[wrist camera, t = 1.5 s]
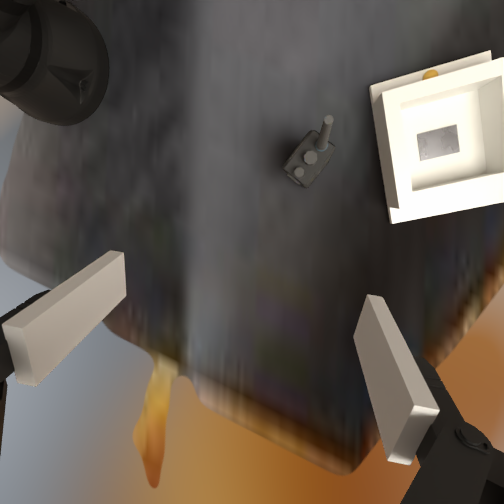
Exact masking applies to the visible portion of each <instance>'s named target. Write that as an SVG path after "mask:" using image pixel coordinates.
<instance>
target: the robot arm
mask: <svg viewBox="0 0 504 504" xmlns="http://www.w3.org/2000/svg"><path fill="white" fill-rule="evenodd" d="M108 77H109V61H108V54H107V50H106V46H105V43H104V41H103V38H102V36H101V34H100V32H99V30H98V29H97V27H96V26H95V25H94V23H93V22H92V21H91V20H90V19H89V18H88V17H87V16H86V15H85V14H84V13H82V12H81V11H80V10H79V9H77V8H76V7H75V6H74V5H72V4H71V3H69V2H68V1H66V0H0V95H1V96H2V97H4V98H5V99H7V100H8V101H10V102H12V103H13V104H14V105H16V106H17V107H19V109H21V110H22V111H23V112H25V113H26V114H28V115H29V116H31V117H33V118H35V119H38V120H40V121H44V122H47V123H51V124H55V125H61V126H67V125H73V124H77V123H79V122H81V121H83V120H85V119H86V118H88V117H89V116H90V115H91V114H92V113H93V112H94V111H95V110H96V109H97V107H98V106H99V104H100V103H101V101H102V99H103V97H104V94H105V91H106V88H107V84H108ZM125 296H126V282H125V265H124V253H123V252H117V251H111V250H110V251H109V252H107V253H106V254H104V255H103V256H101V257H100V258H99V259H97V260H96V261H94V262H93V263H91V264H90V265H88V266H87V267H85V268H84V269H82V270H81V271H79V272H78V273H76V274H75V275H73V276H72V277H71V278H69V279H68V280H66V281H65V282H63V283H62V284H60V285H59V286H57V287H56V288H54V289H53V290H46V291H44V292H41V293H39V294H36V295H34V296H32V297H31V298H29V299H28V300H26V301H25V303H22V304H20V305H19V306H17V307H16V309H13V310H11V311H9V312H8V313H6V314H5V315H3V316H2V317H0V454H1V443H2V434H3V423H4V414H5V404H6V394H7V382H6V378H7V377H8V376H9V375H10V374H12V373H13V372H15V376H16V379H17V382H18V383H21V384H26V385H30V386H35V387H36V386H37V385H38V384H39V383H40V382H41V381H42V380H43V379H44V378H45V377H46V376H47V375H48V374H49V373H50V372H51V371H52V370H53V369H54V368H55V367H56V366H57V365H58V364H59V363H60V362H61V361H62V360H63V359H64V358H65V357H66V356H67V355H68V354H69V353H70V352H71V351H72V350H73V349H74V348H75V347H76V346H77V345H78V344H79V343H80V342H81V341H82V340H83V339H84V338H85V336H87V335H88V334H89V333H90V332H91V331H92V330H93V329H94V328H95V327H96V326H97V325H98V324H99V323H100V322H101V321H102V320H103V319H104V318H105V317H106V316H107V315H108V314H109V313H110V311H111V310H112V309H113V308H114V307H115V306H116V305H117V304H118V303H119V302H120V301H121V300H122V299H123V298H124V297H125ZM354 341H355V344H356V348H357V352H358V355H359V359H360V363H361V366H362V370H363V373H364V377H365V381H366V384H367V388H368V392H369V395H370V399H371V403H372V406H373V410H374V413H375V417H376V421H377V424H378V428H379V432H380V435H381V439H382V442H383V446H384V449H385V453H386V457H387V460H388V461H392V462H396V463H402V464H406V465H411V462H412V461H413V459H414V457H415V455H417V458H418V461H419V463H420V466H421V468H420V469H419V471H418V473H417V474H416V476H415V478H414V480H413V481H412V483H411V485H410V487H409V489H408V491H407V492H406V494H405V496H404V498H403V500H402V501H401V503H400V504H504V453H503V452H501V451H499V450H497V449H495V448H493V446H492V445H491V442H490V441H489V440H488V439H487V437H486V436H485V435H484V434H483V433H482V432H481V431H479V430H478V429H477V428H476V427H474V426H472V425H471V424H469V423H467V422H465V421H464V419H463V417H462V416H461V414H460V412H459V410H458V409H457V407H456V405H455V403H454V402H453V400H452V398H451V396H450V395H449V393H448V391H447V390H446V388H445V386H444V384H443V382H442V381H441V379H440V377H439V376H438V374H437V372H436V370H435V368H434V367H433V366H432V365H431V364H429V363H428V362H427V361H426V360H425V359H424V358H420V357H415V356H412V354H411V352H410V350H409V348H408V346H407V344H406V342H405V340H404V339H403V337H402V335H401V333H400V331H399V329H398V327H397V325H396V323H395V321H394V319H393V317H392V315H391V313H390V311H389V309H388V307H387V305H386V303H385V301H384V299H383V297H379V296H374V295H368V294H367V297H366V300H365V303H364V306H363V309H362V312H361V315H360V318H359V321H358V324H357V327H356V331H355V334H354Z"/></svg>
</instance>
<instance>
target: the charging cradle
mask: <svg viewBox="0 0 504 504" xmlns="http://www.w3.org/2000/svg"><path fill="white" fill-rule="evenodd" d="M369 92H370V98H371V105H372V111H373V118H374V124H375V130H376V137H377V143H378V149H379V156H380V162H381V169H382V175H383V181H384V188H385V194H386V201H387V207H388V213H389V220H390V223H392V224H393V223H399V222H404V221H409V220H414V219H419V218H424V217H429V216H434V215H439V214H445V213H450V212H455V211H460V210H465V209H470V208H475V207H480V206H486V205H491V204H496V203H501V202H504V57H503V58H499V59H496V60H493V61H492V59H491V50H490V51H486V52H483V53H480V54H476V55H473V56H469V57H466V58H463V59H459V60H456V61H452V62H449V63H446V64H442V65H439V66H435V67H432V68H429V69H425V70H422V71H418V72H415V73H412V74H408V75H405V76H401V77H398V78H395V79H391V80H388V81H384V82H381V83H378V84H374V85H371V86H370V88H369Z"/></svg>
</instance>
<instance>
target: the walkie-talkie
mask: <svg viewBox="0 0 504 504" xmlns="http://www.w3.org/2000/svg"><path fill="white" fill-rule="evenodd" d="M332 124H333V117H332V116H331V115H327V116H326V117H325V118H324V121H323V125H322V128H321V131H320V134H319V133H318V132H317V131H315V130H311V131H309V132H308V134H307V135H306V136H305V137H304V138H303V140H302V141H301V142H300V144H299V145H298V146H297V148H296V149H295V150H294V151H293V153H292V154H291V155H290V157H289V158H288V159H287V161H286V162H285V163H284V165H283V169H284V170H285V171H286V172H287V176H288V177H290V178H291V179H292V180H293V181H295V182H296V183H297V184H298V185H300V184H301V185H302V186H303V187H305V188H308V187H309V186H310V185H311V184H312V182H313V181H314V180H315V179H316V177H317V176H318V175H319V174H320V172H321V171H322V170H323V169H324V168H325V166H326V165H327V164H328V163H329V160H330V158H331V156H332V153H333V152H334V150H335V146H334V145H333V144H332V143H330V142H329V141H328V139H329V135H330V131H331V127H332Z"/></svg>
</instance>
